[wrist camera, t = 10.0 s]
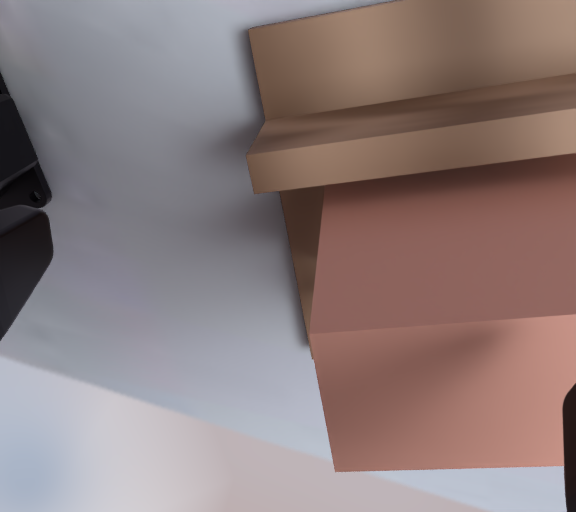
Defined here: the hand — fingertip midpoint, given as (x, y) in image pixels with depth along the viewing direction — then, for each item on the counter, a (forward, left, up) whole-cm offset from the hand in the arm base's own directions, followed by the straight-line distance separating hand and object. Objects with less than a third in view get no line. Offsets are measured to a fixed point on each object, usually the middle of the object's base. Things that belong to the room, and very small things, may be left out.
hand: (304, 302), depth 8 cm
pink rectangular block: (+4, -3, -11) cm, 12 cm away
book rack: (+4, -3, -12) cm, 13 cm away
